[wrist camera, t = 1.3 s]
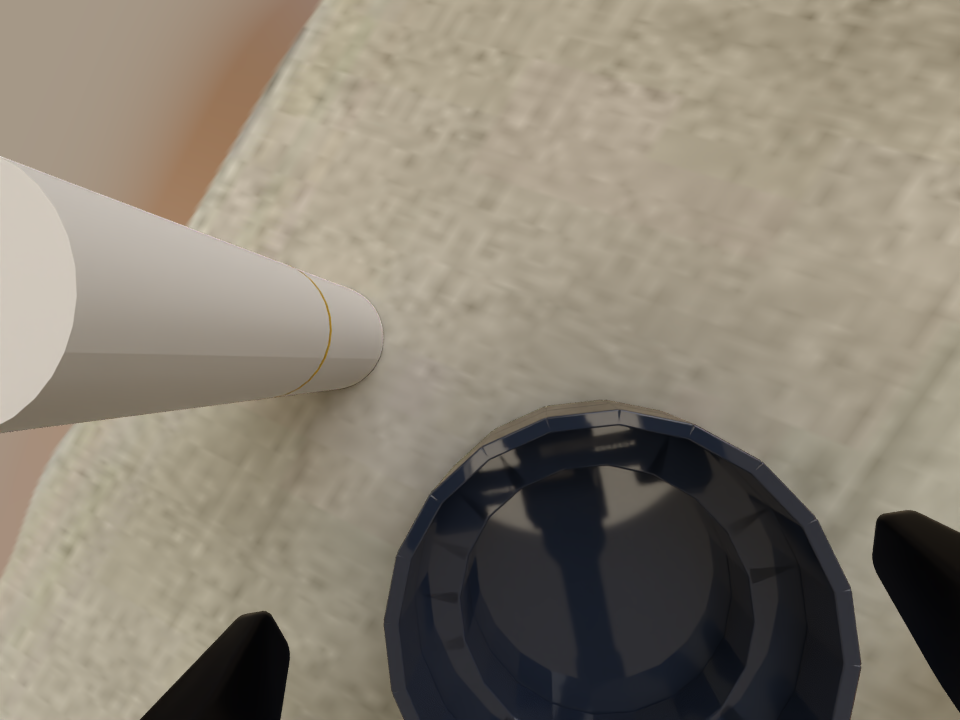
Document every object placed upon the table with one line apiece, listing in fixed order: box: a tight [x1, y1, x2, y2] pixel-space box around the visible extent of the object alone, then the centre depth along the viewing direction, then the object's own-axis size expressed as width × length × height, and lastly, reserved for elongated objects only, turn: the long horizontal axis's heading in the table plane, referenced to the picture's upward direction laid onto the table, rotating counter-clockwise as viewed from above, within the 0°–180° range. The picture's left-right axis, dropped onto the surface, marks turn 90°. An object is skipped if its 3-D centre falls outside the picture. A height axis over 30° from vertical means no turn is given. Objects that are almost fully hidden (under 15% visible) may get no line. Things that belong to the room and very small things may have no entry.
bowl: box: [384, 400, 861, 720], centre depth 19 cm, size 14×14×5 cm
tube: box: [0, 156, 384, 433], centre depth 15 cm, size 4×4×15 cm
